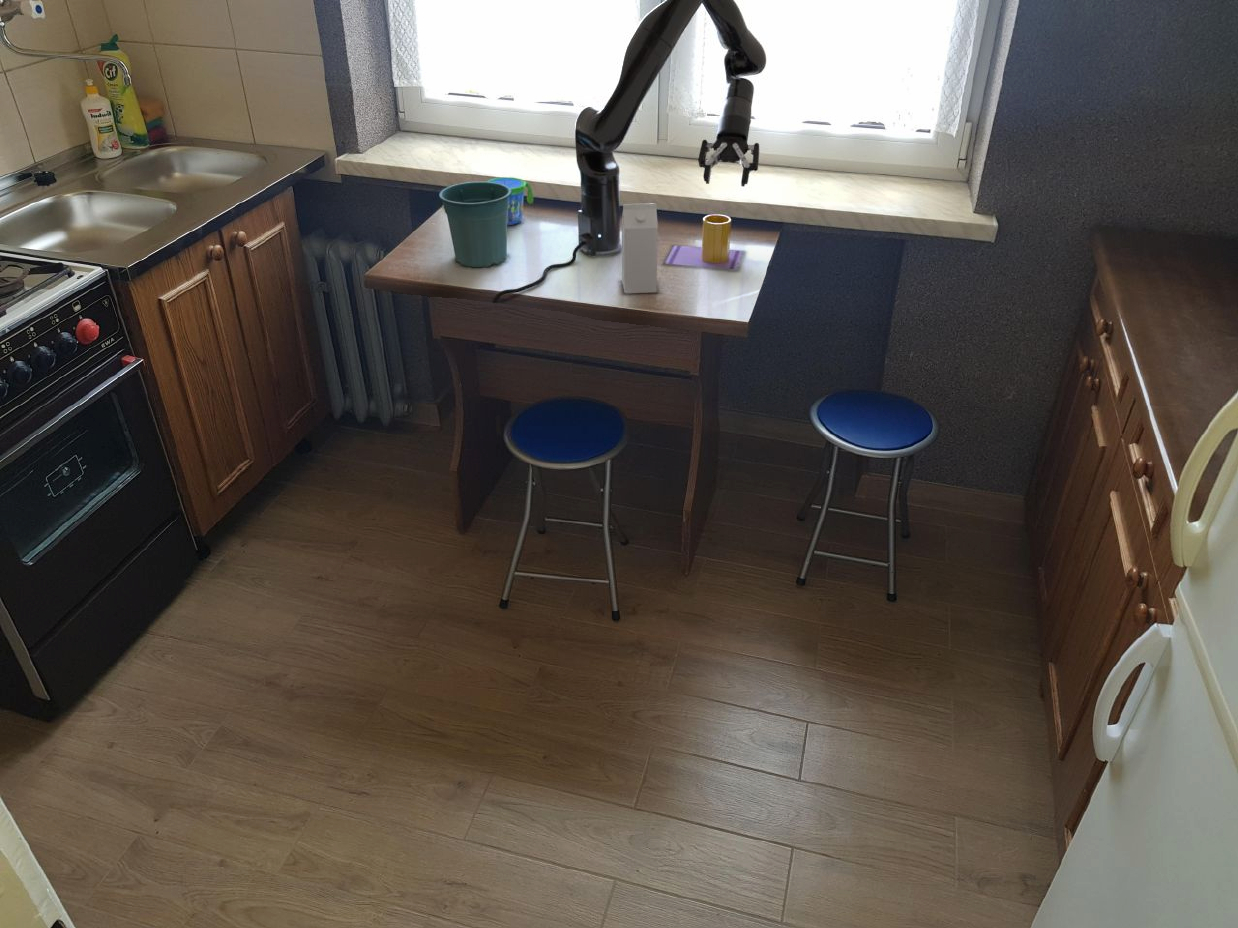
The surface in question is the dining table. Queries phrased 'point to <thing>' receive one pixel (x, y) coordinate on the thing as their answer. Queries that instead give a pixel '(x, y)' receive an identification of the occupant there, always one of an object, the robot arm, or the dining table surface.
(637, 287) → the milk carton
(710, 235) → the tumbler
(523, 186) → the snack cup
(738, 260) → the cloth
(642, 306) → the dining table surface
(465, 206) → the flower pot
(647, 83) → the robot arm
